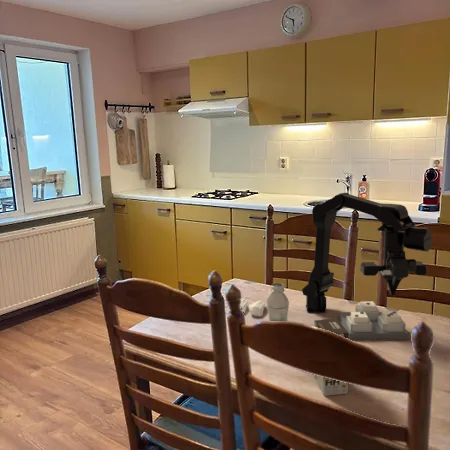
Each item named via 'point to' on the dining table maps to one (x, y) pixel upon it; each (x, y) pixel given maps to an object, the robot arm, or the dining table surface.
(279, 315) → the plastic bottle
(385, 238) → the robot arm
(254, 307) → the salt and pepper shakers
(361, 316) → the button two
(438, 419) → the dining table surface
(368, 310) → the button one
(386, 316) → the button three
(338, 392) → the coffee box
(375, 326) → the panel
